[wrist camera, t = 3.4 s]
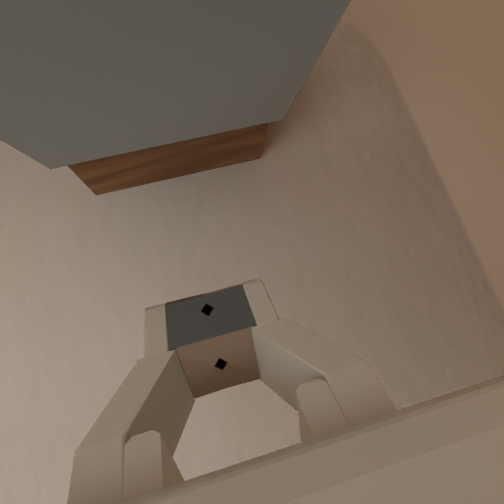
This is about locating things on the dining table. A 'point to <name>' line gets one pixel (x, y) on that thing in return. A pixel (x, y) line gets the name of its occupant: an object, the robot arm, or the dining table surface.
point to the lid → (150, 70)
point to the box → (171, 159)
